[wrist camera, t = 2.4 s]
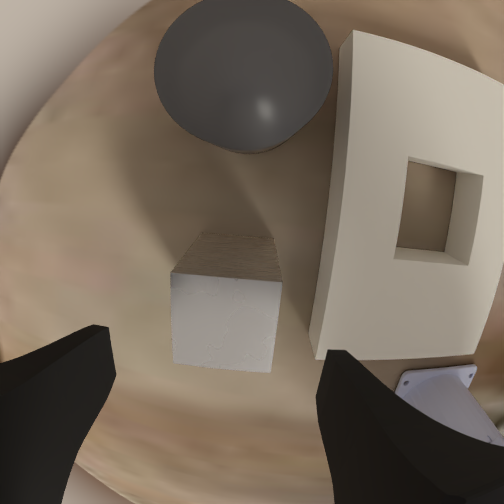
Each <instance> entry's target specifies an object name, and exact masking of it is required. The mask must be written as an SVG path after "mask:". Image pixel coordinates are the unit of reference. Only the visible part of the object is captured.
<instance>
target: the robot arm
mask: <svg viewBox="0 0 504 504" xmlns="http://www.w3.org/2000/svg"><path fill="white" fill-rule="evenodd" d="M476 371H477V366H476V365H475V364H471V365H463V366H454V367H445V368H434V369H422V370H409V371H406V372H404V373H403V374H402V376H401V378H400V381H399V383H398V386H397V388H396V391H395V393H394V392H393V391H392V390H390V389H389V388H388V387H387V386H386V385H384V384H383V383H382V382H381V381H380V380H379V379H377V378H376V377H375V376H374V375H373V374H372V373H371V372H370V371H369V370H367V369H366V368H365V367H364V366H363V365H362V364H361V363H360V362H359V361H358V360H357V359H356V358H354V357H353V356H352V355H351V354H350V353H349V352H348V351H346V350H331V349H327V354H326V358H325V362H324V366H323V370H322V374H321V378H320V382H319V386H318V390H317V394H316V405H317V415H318V423H319V427H320V431H321V435H322V440H323V444H324V448H325V452H326V456H327V460H328V464H329V468H330V473H331V477H332V483H333V491H334V501H335V504H504V438H503V436H502V435H501V434H500V432H499V431H498V429H497V428H496V426H495V425H494V424H493V422H492V421H491V420H490V418H489V417H488V415H487V414H486V413H485V411H484V410H483V409H482V407H481V406H480V405H479V403H478V402H477V401H476V399H475V398H474V397H473V395H472V394H471V393H470V391H469V390H468V387H469V385H470V383H471V381H472V379H473V377H474V375H475V373H476ZM115 377H116V370H115V365H114V359H113V353H112V347H111V340H110V333H109V327H104V326H99V325H94V324H93V325H90V326H88V327H85V328H83V329H81V330H78V331H76V332H74V333H72V334H70V335H68V336H66V337H63V338H61V339H59V340H57V341H55V342H53V343H51V344H49V345H47V346H44V347H42V348H40V349H37V350H35V351H33V352H30V353H28V354H26V355H23V356H21V357H18V358H15V359H13V360H10V361H6V362H3V363H0V504H61V503H62V499H63V495H64V491H65V488H66V485H67V481H68V478H69V475H70V472H71V469H72V466H73V464H74V461H75V458H76V456H77V453H78V451H79V449H80V447H81V445H82V443H83V441H84V439H85V437H86V435H87V434H88V432H89V430H90V428H91V426H92V425H93V423H94V421H95V419H96V418H97V416H98V414H99V412H100V411H101V409H102V407H103V405H104V403H105V402H106V400H107V398H108V395H109V393H110V391H111V388H112V385H113V383H114V380H115ZM405 381H406V382H405ZM404 382H405V383H404Z"/></svg>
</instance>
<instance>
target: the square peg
mask: <svg viewBox="0 0 504 504" xmlns="http://www.w3.org/2000/svg"><path fill="white" fill-rule="evenodd" d="M282 283H283V282H282V277H281V272H280V267H279V261H278V256H277V251H276V246H275V241H274V238H263V237H251V236H239V235H227V234H215V233H201V234H200V236H199V237H198V238H197V239H196V241H195V242H194V243H193V244H192V246H191V247H190V248H189V249H188V251H187V252H186V253H185V255H184V256H183V257H182V258H181V260H180V261H179V262H178V264H177V265H176V266H175V267H174V269H173V270H172V271H171V324H172V348H173V363H176V364H183V365H191V366H199V367H208V368H217V369H227V370H238V371H250V372H265V373H271V366H272V359H273V352H274V345H275V337H276V330H277V322H278V315H279V307H280V299H281V291H282Z"/></svg>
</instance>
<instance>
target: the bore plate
mask: <svg viewBox="0 0 504 504" xmlns="http://www.w3.org/2000/svg"><path fill="white" fill-rule="evenodd" d="M408 161H411V162H416V163H420V164H425V165H429V166H433V167H438V168H442V169H446V170H450V171H453V172H457V174H456V183H455V191H454V199H453V206H452V212H451V219H450V225H449V230H448V236H447V241H446V246H445V251H444V252H439V251H430V250H421V249H411V248H402V247H396V243H397V238H398V232H399V226H400V220H401V213H402V206H403V199H404V191H405V183H406V174H407V164H408ZM503 263H504V84H502V83H500V82H498V81H496V80H494V79H492V78H490V77H488V76H486V75H484V74H482V73H480V72H478V71H475V70H473V69H471V68H469V67H467V66H464V65H462V64H460V63H457V62H455V61H452V60H450V59H447V58H445V57H442V56H440V55H437V54H434V53H432V52H429V51H426V50H423V49H420V48H417V47H414V46H411V45H408V44H405V43H402V42H399V41H395V40H392V39H388V38H385V37H381V36H377V35H373V34H369V33H365V32H361V31H357V30H352V32H351V33H350V34H349V36H348V37H347V39H346V40H345V41H344V43H343V44H342V45H341V47H340V48H339V75H338V95H337V111H336V125H335V138H334V150H333V161H332V171H331V181H330V190H329V199H328V207H327V216H326V224H325V231H324V239H323V246H322V253H321V260H320V267H319V273H318V280H317V286H316V292H315V298H314V304H313V310H312V316H311V322H310V327H309V333H308V334H309V338H310V342H311V346H312V349H313V353H314V357H315V360H325V358H326V354H327V349H331V350H346V351H348V352H349V353H350V354H351V355H352V356H353V357H354V358H356V359H357V360H392V359H415V358H432V357H445V356H457V355H467V354H474V352H475V350H476V347H477V345H478V342H479V340H480V337H481V334H482V332H483V329H484V326H485V323H486V321H487V318H488V315H489V312H490V309H491V306H492V303H493V299H494V296H495V293H496V289H497V286H498V282H499V279H500V275H501V271H502V267H503Z"/></svg>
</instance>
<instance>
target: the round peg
mask: <svg viewBox="0 0 504 504" xmlns="http://www.w3.org/2000/svg"><path fill="white" fill-rule="evenodd" d="M332 76H333V59H332V53H331V49H330V46H329V43H328V41H327V39H326V37H325V35H324V33H323V31H322V30H321V28H320V27H319V25H318V24H317V23H316V22H315V21H314V19H313V18H312V17H311V16H310V15H309V14H307V13H306V12H305V11H304V10H303V9H301V8H300V7H298V6H297V5H295V4H294V3H292V2H290V1H288V0H203V1H201V2H199V3H197V4H195V5H194V6H192V7H191V8H189V9H188V10H186V11H185V12H184V13H183V14H181V15H180V16H179V17H178V18H177V19H176V20H175V21H174V22H173V23H172V25H171V26H170V27H169V29H168V30H167V32H166V33H165V35H164V37H163V38H162V40H161V42H160V45H159V48H158V50H157V54H156V58H155V66H154V77H155V85H156V89H157V93H158V95H159V98H160V100H161V102H162V104H163V106H164V108H165V109H166V111H167V112H168V113H169V115H170V116H171V117H172V119H173V120H174V121H175V122H177V123H178V124H179V125H180V126H181V127H182V128H183V129H185V130H186V131H188V132H189V133H191V134H192V135H194V136H196V137H198V138H200V139H202V140H205V141H207V142H209V143H212V144H214V145H216V146H219V147H221V148H224V149H226V150H229V151H232V152H236V153H242V154H255V153H261V152H265V151H268V150H271V149H274V148H276V147H277V146H279V145H281V144H282V143H284V142H285V141H287V140H288V139H289V138H290V137H291V136H292V135H294V134H295V133H296V132H297V131H298V130H300V129H301V128H302V127H303V126H304V125H305V124H307V123H308V122H309V121H310V120H311V119H312V118H313V117H314V116H315V114H316V113H317V112H318V111H319V109H320V108H321V106H322V105H323V103H324V101H325V99H326V97H327V95H328V93H329V90H330V86H331V83H332Z"/></svg>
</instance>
